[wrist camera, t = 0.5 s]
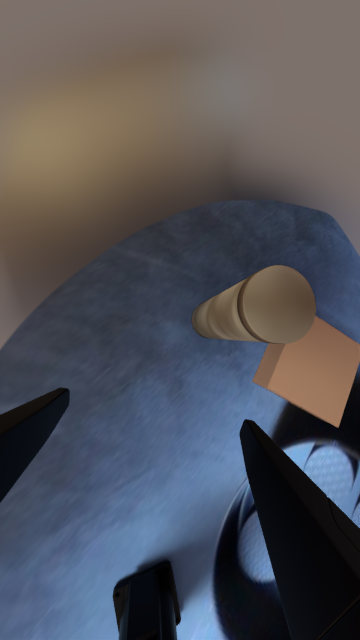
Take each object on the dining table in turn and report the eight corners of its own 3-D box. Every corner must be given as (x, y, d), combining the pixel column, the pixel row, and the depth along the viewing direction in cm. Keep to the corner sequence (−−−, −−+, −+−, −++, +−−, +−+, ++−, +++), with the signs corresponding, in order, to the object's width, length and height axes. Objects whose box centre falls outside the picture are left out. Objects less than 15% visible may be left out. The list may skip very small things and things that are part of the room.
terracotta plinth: (340, 346, 27) (364, 347, 24) (316, 416, 25) (338, 427, 22) (283, 309, 26) (301, 306, 23) (252, 381, 24) (267, 388, 21)
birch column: (229, 334, 24) (324, 335, 11) (195, 342, 23) (256, 352, 10) (221, 299, 24) (306, 260, 11) (187, 305, 23) (238, 269, 10)
